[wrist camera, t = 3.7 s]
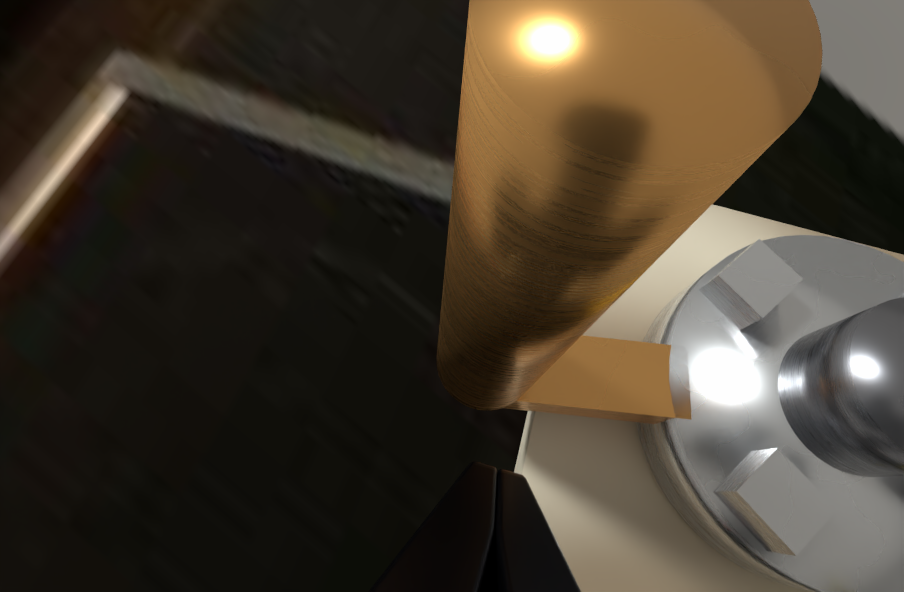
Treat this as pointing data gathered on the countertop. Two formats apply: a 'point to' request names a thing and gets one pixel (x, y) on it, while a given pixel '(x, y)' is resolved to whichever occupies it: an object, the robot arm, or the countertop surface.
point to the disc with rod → (699, 305)
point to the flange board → (637, 448)
